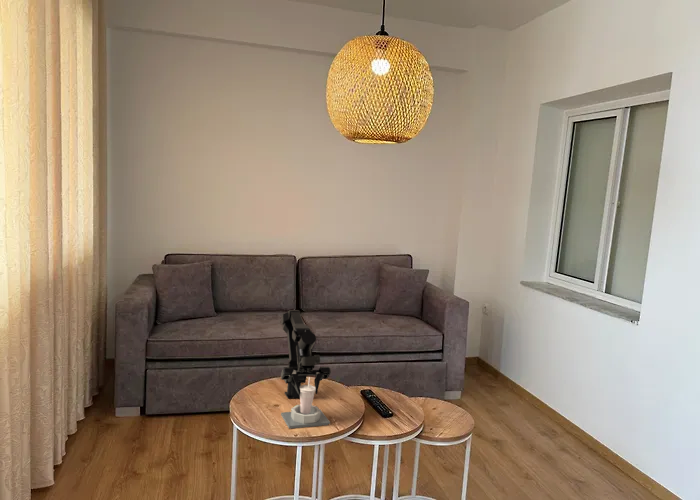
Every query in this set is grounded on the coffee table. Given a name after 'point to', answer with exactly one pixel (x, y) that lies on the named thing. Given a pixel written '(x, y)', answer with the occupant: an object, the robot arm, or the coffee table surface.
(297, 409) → the bottle stand
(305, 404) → the smoothie
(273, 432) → the coffee table surface
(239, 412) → the coffee table surface
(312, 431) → the coffee table surface
